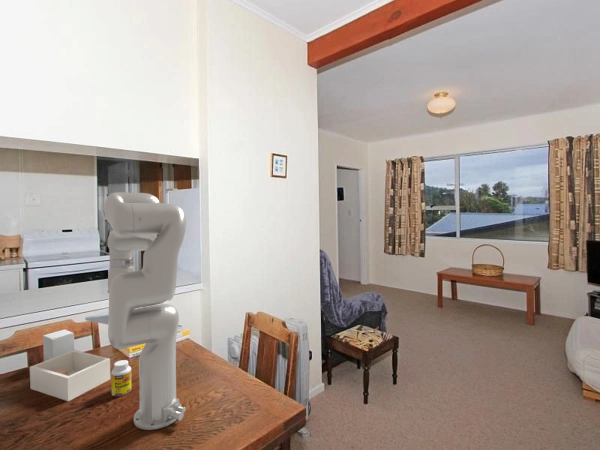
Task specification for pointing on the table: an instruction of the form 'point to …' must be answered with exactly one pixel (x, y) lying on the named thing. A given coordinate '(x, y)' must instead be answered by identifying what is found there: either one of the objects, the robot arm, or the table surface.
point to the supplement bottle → (121, 378)
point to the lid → (99, 317)
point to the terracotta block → (61, 371)
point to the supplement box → (57, 344)
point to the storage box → (70, 374)
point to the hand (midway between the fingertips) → (122, 311)
